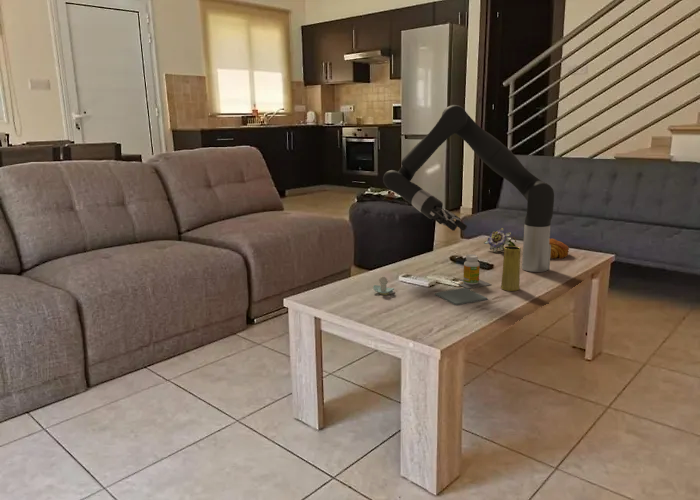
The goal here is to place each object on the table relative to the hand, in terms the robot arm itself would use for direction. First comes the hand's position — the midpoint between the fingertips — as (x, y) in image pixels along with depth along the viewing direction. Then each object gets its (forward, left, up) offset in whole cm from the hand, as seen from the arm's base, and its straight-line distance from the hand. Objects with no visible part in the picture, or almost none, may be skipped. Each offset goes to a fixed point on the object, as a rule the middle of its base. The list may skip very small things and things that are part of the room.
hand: (460, 228), depth 192 cm
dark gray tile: (0, +7, -18) cm, 20 cm away
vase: (-8, +18, -19) cm, 27 cm away
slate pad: (+12, +18, -18) cm, 28 cm away
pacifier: (+31, +2, -19) cm, 37 cm away
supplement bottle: (0, +7, -18) cm, 20 cm away
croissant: (-53, -12, -19) cm, 58 cm away
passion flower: (-40, -27, -19) cm, 52 cm away
